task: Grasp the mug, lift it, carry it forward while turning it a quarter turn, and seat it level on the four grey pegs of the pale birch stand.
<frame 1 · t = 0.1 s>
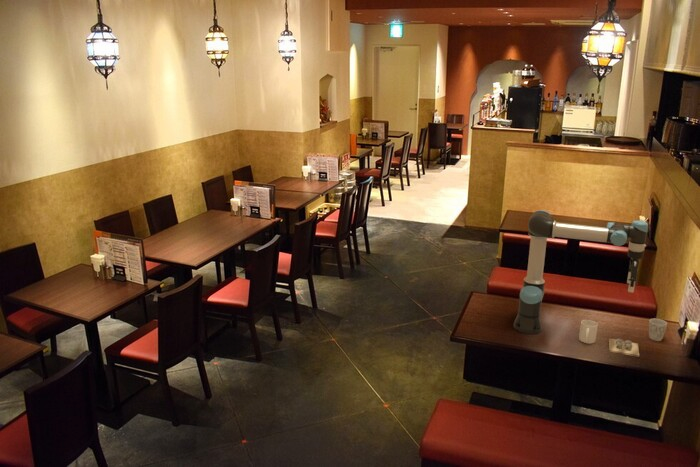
hand: (630, 287, 301), 28 cm above the table, fingers open, 13 cm apart
peg stand: (623, 348, 293), on the table
mug 2: (656, 337, 306), on the table
mug: (586, 342, 300), on the table
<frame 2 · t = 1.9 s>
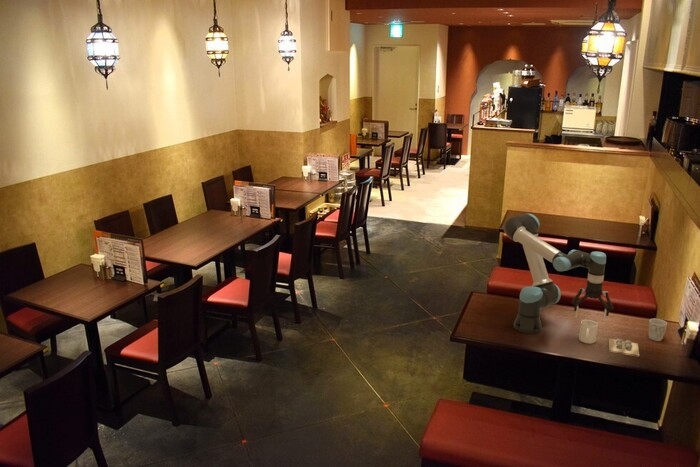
hand: (590, 318, 296), 14 cm above the table, fingers open, 13 cm apart
nothing on the table moved.
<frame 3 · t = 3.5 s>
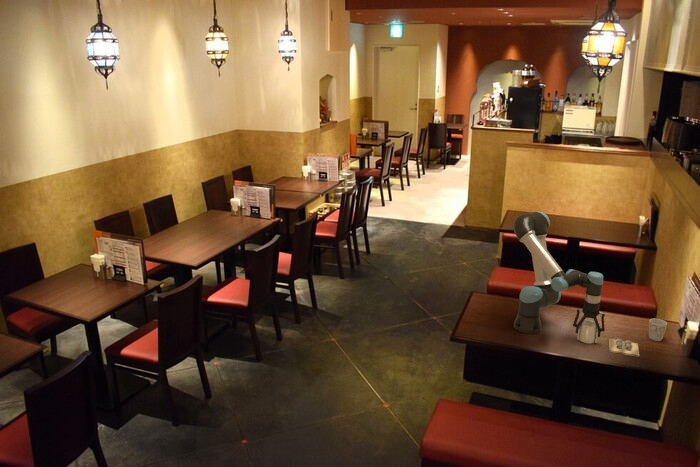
hand: (586, 340, 300), 1 cm above the table, fingers closed on mug, 8 cm apart
mug: (586, 342, 300), on the table, touching gripper
everything else where it was.
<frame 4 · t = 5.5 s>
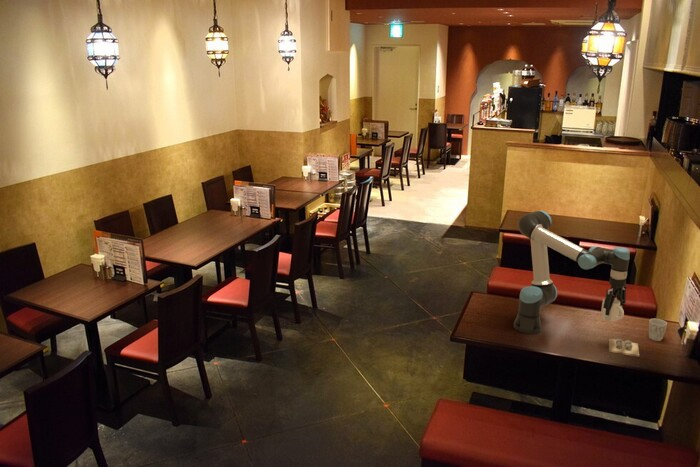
hand: (612, 318, 291), 16 cm above the table, fingers closed on mug, 8 cm apart
mug: (612, 320, 292), point 15 cm above the table, touching gripper
everything else where it was.
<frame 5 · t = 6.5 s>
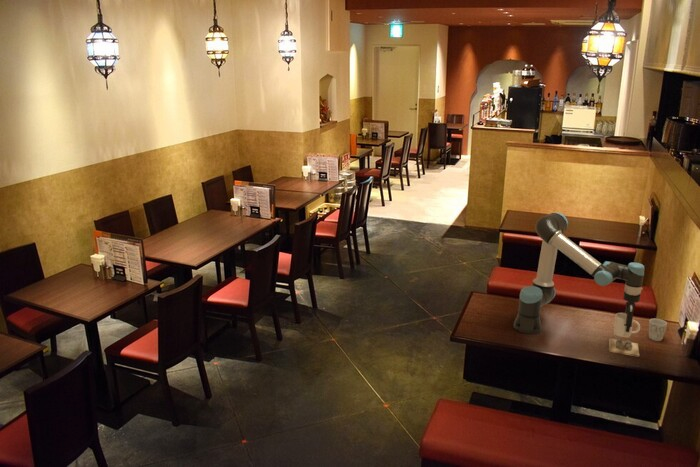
hand: (626, 333, 291), 9 cm above the table, fingers closed on mug, 8 cm apart
mug: (625, 335, 291), point 8 cm above the table, touching gripper
everything else where it was.
when the fingers open (6 cm above the table, at t = 7.5 s): mug drops 1 cm, resting on peg stand.
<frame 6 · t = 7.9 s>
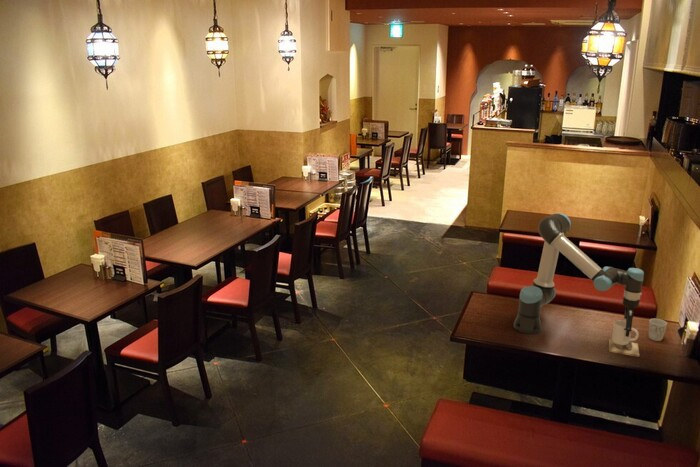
hand: (625, 336, 291), 7 cm above the table, fingers open, 13 cm apart
mug: (624, 342, 292), point 3 cm above the table, touching peg stand
everything else where it was.
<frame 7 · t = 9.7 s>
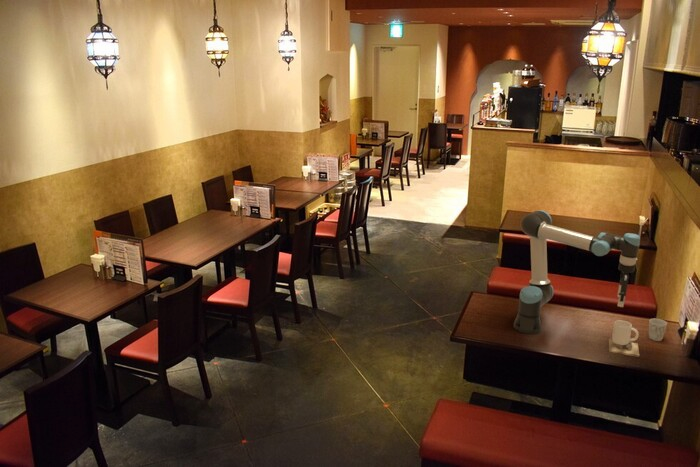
hand: (620, 301, 292), 24 cm above the table, fingers open, 13 cm apart
nothing on the table moved.
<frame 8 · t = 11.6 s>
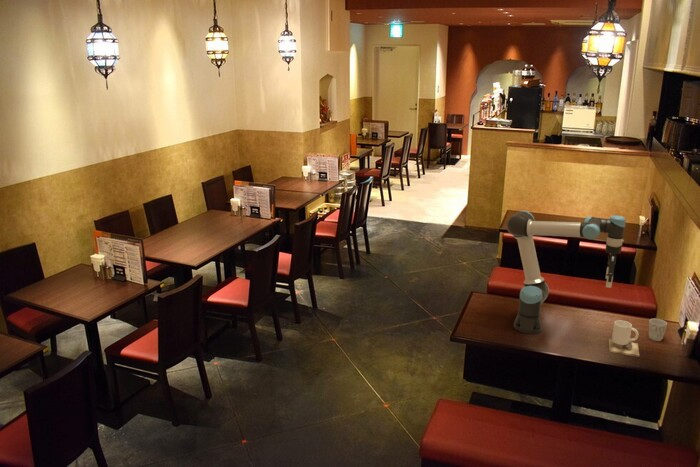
hand: (608, 282, 299), 31 cm above the table, fingers open, 13 cm apart
nothing on the table moved.
at the end: mug 0.2 cm off-centre on the peg stand, point 3.3 cm above the peg stand's base; mug tilted 0°; the gripper is holding nothing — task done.
